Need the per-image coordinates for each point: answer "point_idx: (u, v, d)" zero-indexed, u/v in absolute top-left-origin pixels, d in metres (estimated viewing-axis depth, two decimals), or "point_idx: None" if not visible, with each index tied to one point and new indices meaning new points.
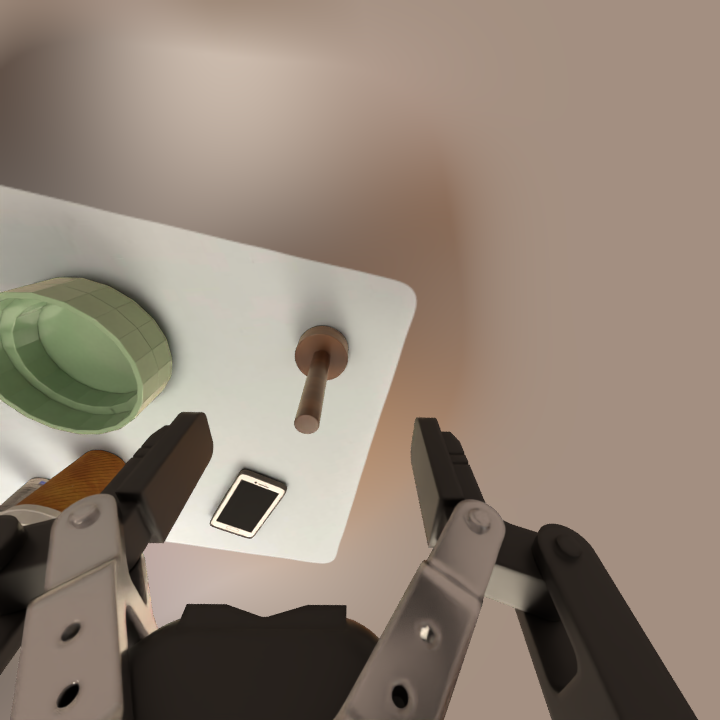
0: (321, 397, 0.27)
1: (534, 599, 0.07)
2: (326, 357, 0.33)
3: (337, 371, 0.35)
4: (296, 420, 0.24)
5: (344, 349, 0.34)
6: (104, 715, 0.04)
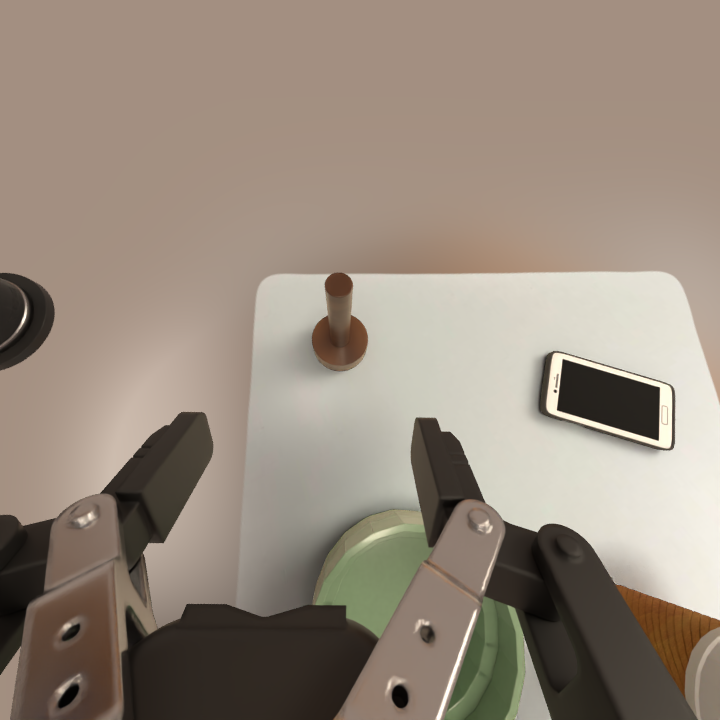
0: None
1: (534, 599, 0.07)
2: None
3: (351, 320, 0.33)
4: (335, 295, 0.21)
5: (324, 318, 0.33)
6: (104, 715, 0.04)
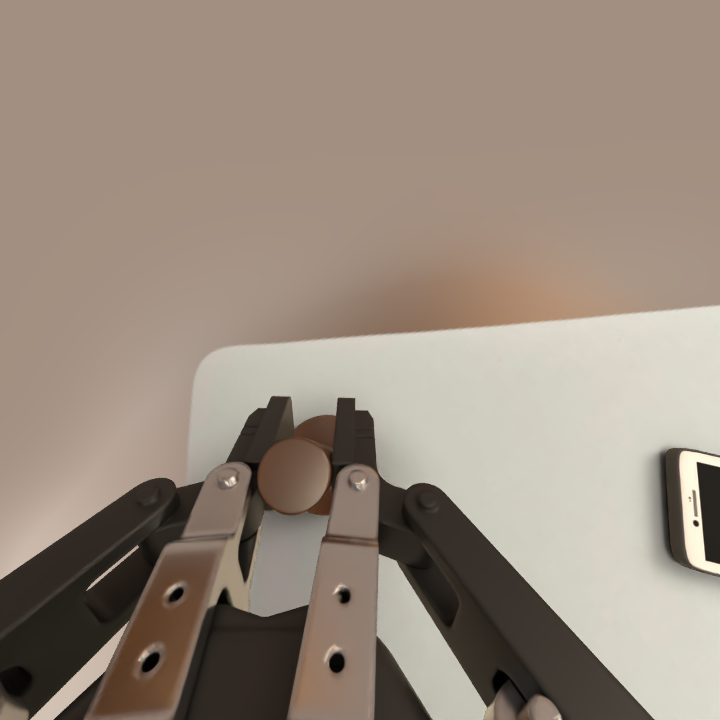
0: None
1: (401, 548, 0.08)
2: None
3: None
4: (285, 510, 0.08)
5: (298, 427, 0.20)
6: (161, 709, 0.04)
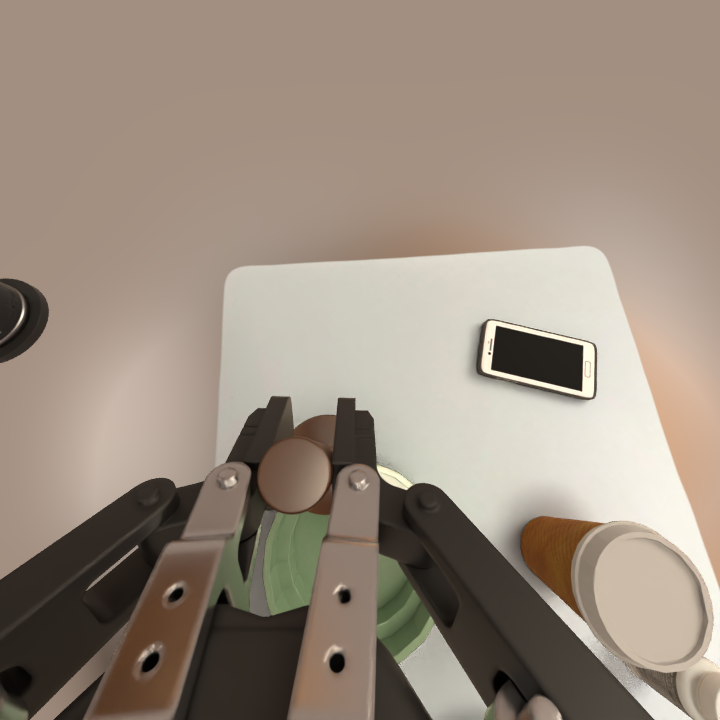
0: None
1: (402, 548, 0.08)
2: None
3: None
4: (285, 509, 0.08)
5: (298, 427, 0.20)
6: (160, 710, 0.04)
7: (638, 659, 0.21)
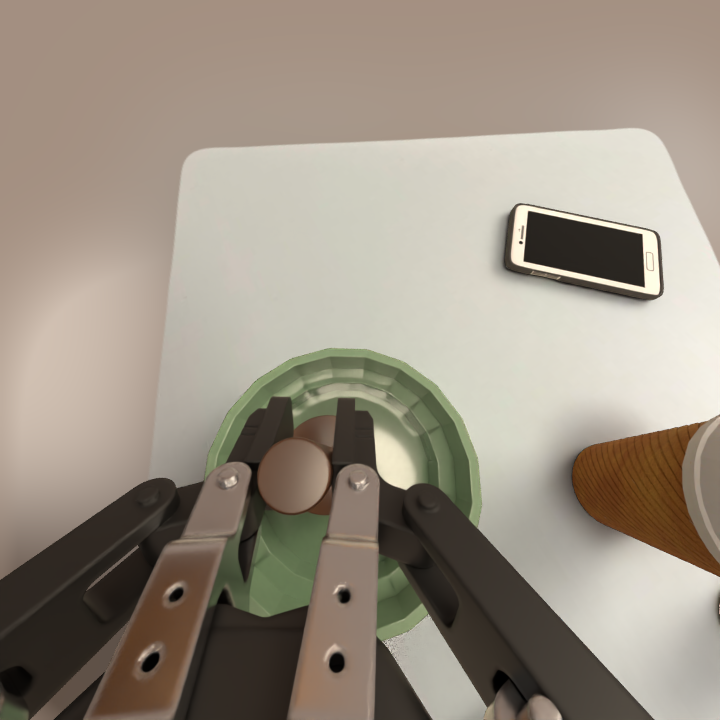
0: None
1: (401, 548, 0.08)
2: None
3: None
4: (285, 510, 0.08)
5: (298, 427, 0.20)
6: (161, 710, 0.04)
7: None
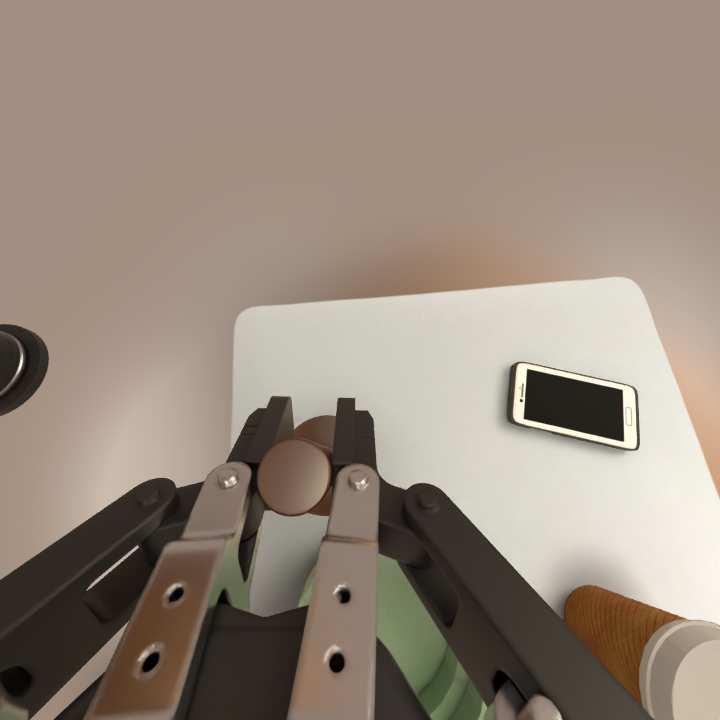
0: None
1: (401, 548, 0.08)
2: None
3: None
4: (284, 511, 0.08)
5: (298, 428, 0.20)
6: (161, 709, 0.04)
7: None
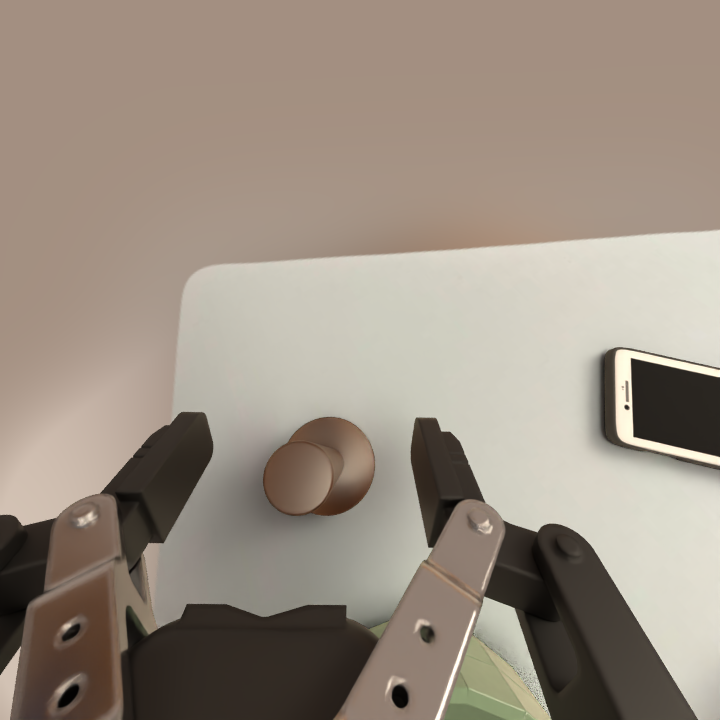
0: None
1: (534, 599, 0.07)
2: None
3: (345, 428, 0.20)
4: (290, 511, 0.08)
5: (300, 429, 0.20)
6: (104, 715, 0.04)
7: None
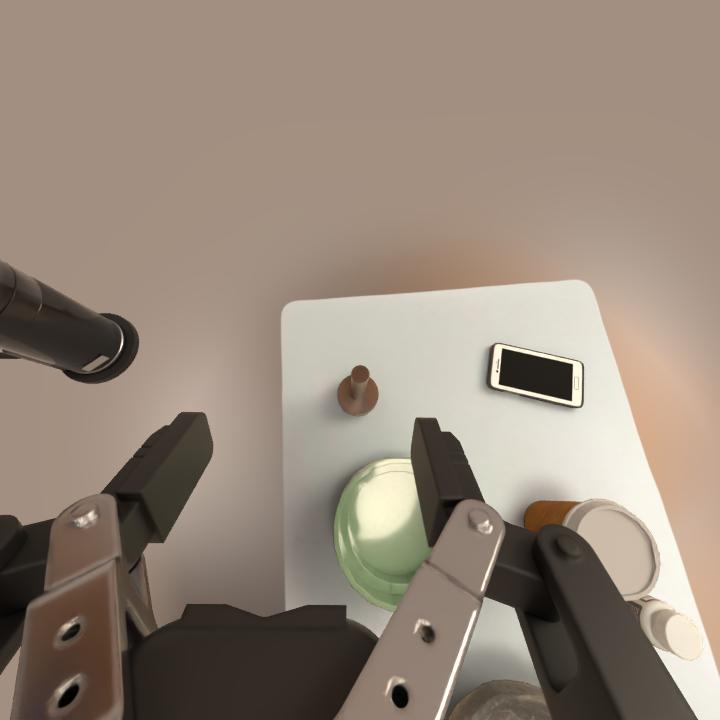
0: None
1: (534, 599, 0.07)
2: None
3: None
4: (358, 381, 0.34)
5: (345, 379, 0.45)
6: (104, 715, 0.04)
7: None
